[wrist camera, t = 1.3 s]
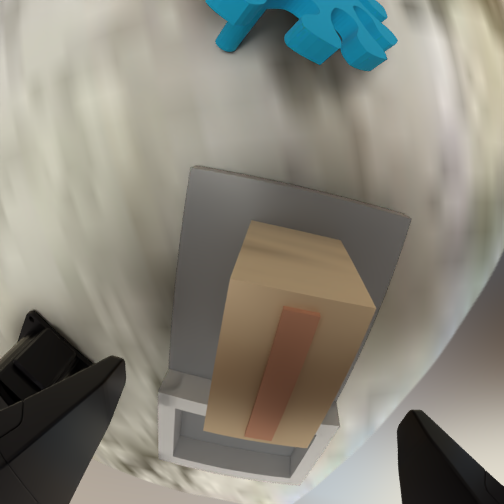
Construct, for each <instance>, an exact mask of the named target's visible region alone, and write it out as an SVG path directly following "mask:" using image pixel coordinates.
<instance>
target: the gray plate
mask: <svg viewBox="0 0 504 504" xmlns="http://www.w3.org/2000/svg"><path fill="white" fill-rule="evenodd" d="M251 220H253V221H257V222H262V223H267V224H271V225H276V226H280V227H285V228H289V229H294V230H298V231H303V232H307V233H311V234H316V235H320V236H325V237H329V238H333V239H337V240H341V242H342V244H343V245H344V247H345V249H346V251H347V253H348V255H349V256H350V258H351V260H352V262H353V264H354V266H355V268H356V270H357V271H358V273H359V275H360V277H361V279H362V281H363V283H364V285H365V287H366V289H367V291H368V293H369V295H370V297H371V299H372V301H373V303H374V305H375V307H376V310H375V313H374V315H373V318H372V320H371V322H370V325H369V327H368V329H367V332H366V334H365V336H364V339H363V341H362V343H361V345H360V348H359V350H358V352H357V354H356V356H355V359H354V361H353V363H352V365H351V367H350V369H349V371H348V373H347V375H346V377H345V379H344V381H343V383H342V385H341V387H340V389H339V391H338V393H337V395H336V397H335V399H334V401H333V403H332V405H331V407H330V409H329V410H328V412H327V414H326V416H325V418H324V420H323V421H322V423H321V425H320V427H319V429H318V430H317V432H316V434H315V436H314V437H313V439H312V441H311V442H310V444H309V446H308V447H307V448H299V447H291V446H283V445H276V444H269V443H262V442H256V441H250V440H245V439H239V438H234V437H229V436H224V435H220V434H215V433H211V432H206V431H203V428H204V422H205V416H206V411H207V405H208V399H209V393H210V387H211V381H212V376H213V370H214V364H215V359H216V353H217V347H218V342H219V336H220V331H221V325H222V320H223V314H224V309H225V303H226V298H227V292H228V287H229V282H230V277H231V275H232V272H233V269H234V266H235V264H236V261H237V258H238V255H239V253H240V250H241V247H242V244H243V242H244V239H245V236H246V234H247V231H248V228H249V225H250V223H251ZM410 222H411V218H409V217H408V216H406V215H405V214H403V213H399V212H396V211H393V210H389V209H386V208H382V207H378V206H375V205H371V204H368V203H364V202H360V201H356V200H353V199H349V198H345V197H341V196H337V195H333V194H329V193H325V192H321V191H317V190H313V189H308V188H304V187H300V186H296V185H291V184H287V183H282V182H278V181H273V180H269V179H264V178H259V177H254V176H249V175H244V174H239V173H234V172H229V171H224V170H218V169H213V168H207V167H202V166H194V167H191V168H190V174H189V181H188V187H187V194H186V200H185V207H184V215H183V222H182V230H181V237H180V245H179V254H178V263H177V272H176V281H175V291H174V302H173V313H172V325H171V338H170V353H169V369H168V371H167V373H166V375H165V378H164V380H163V382H162V384H161V386H160V388H159V391H158V450H159V459H160V460H164V461H167V462H171V463H174V464H178V465H182V466H186V467H190V468H194V469H198V470H202V471H207V472H211V473H216V474H221V475H226V476H231V477H237V478H242V479H249V480H255V481H262V482H270V483H278V484H288V485H299V486H300V485H301V483H302V482H303V480H304V479H305V478H306V476H307V475H308V474H309V472H310V471H311V469H312V468H313V466H314V465H315V464H316V462H317V461H318V459H319V458H320V456H321V455H322V453H323V452H324V450H325V449H326V447H327V446H328V444H329V443H330V441H331V440H332V438H333V436H334V435H335V433H336V432H337V430H338V428H339V427H340V423H339V416H338V410H337V403H336V401H337V399H338V397H339V395H340V393H341V391H342V390H343V388H344V386H345V384H346V382H347V380H348V378H349V376H350V374H351V372H352V370H353V367H354V365H355V363H356V361H357V359H358V357H359V355H360V353H361V351H362V348H363V346H364V344H365V342H366V340H367V337H368V335H369V333H370V330H371V328H372V326H373V323H374V321H375V319H376V316H377V314H378V312H379V309H380V307H381V304H382V302H383V299H384V297H385V294H386V291H387V289H388V286H389V284H390V281H391V278H392V276H393V273H394V270H395V267H396V265H397V262H398V259H399V256H400V253H401V250H402V247H403V244H404V241H405V238H406V235H407V232H408V229H409V225H410Z"/></svg>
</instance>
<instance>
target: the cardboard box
mask: <svg viewBox="0 0 504 504" xmlns="http://www.w3.org/2000/svg"><path fill="white" fill-rule="evenodd" d="M375 310H376V307H375V305H374V303H373V301H372V299H371V297H370V295H369V293H368V291H367V289H366V287H365V285H364V283H363V281H362V279H361V277H360V275H359V273H358V271H357V270H356V268H355V266H354V264H353V262H352V260H351V258H350V256H349V255H348V253H347V251H346V249H345V247H344V245H343V244H342V242H341V240H337V239H333V238H329V237H325V236H320V235H316V234H311V233H307V232H303V231H298V230H294V229H289V228H285V227H280V226H276V225H271V224H267V223H262V222H257V221H253V220H251V223H250V225H249V228H248V231H247V234H246V236H245V239H244V242H243V244H242V247H241V250H240V253H239V255H238V258H237V261H236V264H235V266H234V269H233V272H232V275H231V277H230V282H229V287H228V292H227V298H226V303H225V309H224V314H223V320H222V325H221V331H220V336H219V342H218V347H217V353H216V359H215V364H214V370H213V376H212V381H211V387H210V393H209V399H208V405H207V411H206V416H205V422H204V428H203V431H206V432H211V433H215V434H220V435H224V436H229V437H234V438H239V439H245V440H250V441H256V442H262V443H269V444H276V445H283V446H291V447H299V448H307V447H308V446H309V444H310V442H311V441H312V439H313V437H314V436H315V434H316V432H317V430H318V429H319V427H320V425H321V423H322V421H323V420H324V418H325V416H326V414H327V412H328V410H329V409H330V407H331V405H332V403H333V401H334V399H335V397H336V395H337V393H338V391H339V389H340V387H341V385H342V383H343V381H344V379H345V377H346V375H347V373H348V371H349V369H350V367H351V365H352V363H353V361H354V359H355V356H356V354H357V352H358V350H359V348H360V345H361V343H362V341H363V339H364V336H365V334H366V332H367V329H368V327H369V325H370V322H371V320H372V318H373V315H374V313H375Z"/></svg>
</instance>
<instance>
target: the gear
mask: <svg viewBox="0 0 504 504" xmlns="http://www.w3.org/2000/svg"><path fill="white" fill-rule="evenodd" d="M205 2H206V3H207V4H208V5H209V7H210V8H211V9H213V10H214V11H215V12H216V13H217V14H218V15H220V16H221V17H222V18H224V19H225V20H227V21H228V22H227V23H226V25H225V26H224V28H223V29H222V31H221V32H220V34H219V35H218V37H217V39H216V41H215V42H216V44H217V46H218V47H219V48H220V49H222V50H224V51H228V52H232V51H235V50H236V48H237V47H238V46H239V44H240V43H241V42H242V40H243V39H244V38H245V36H246V35H247V34H248V32H249V31H250V30H251V28H252V27H253V26H254V25H255V23H256V22H257V21H258V19H259V18H260V17H261V16H262V14H263V13H264V12H265V11H266V9H284V10H287V11H289V12H291V13H292V14H294V15H295V16H296V17H297V18H299V20H298V21H297V22H296V23H295V24H294V25H293V27H292V28H291V29H290V30H289V31H288V32H287V33H286V34H285V37H284V40H285V43H286V45H287V46H288V47H290V48H291V49H292V50H293V51H295V52H297V53H298V54H300V55H301V56H303V57H305V58H307V59H309V60H311V61H313V62H315V63H317V64H319V65H321V64H322V63H323V62H324V61H325V60H327V59H328V58H329V57H330V56H331V55H332V54H334V53H335V52H336V51H337V50H338V49H339V48H340V49H341V53H342V55H343V57H344V59H345V60H346V61H347V63H348V64H349V65H350V66H352V67H354V68H357V69H359V70H364V71H371V70H373V69H374V68H375V67H377V66H378V65H380V64H381V63H382V62H384V61H385V60H387V57H386V54H385V51H386V50H388V49H389V48H391V47H392V46H393V45H395V44H396V43H397V41H398V40H397V38H396V37H395V36H394V34H393V33H392V32H391V31H390V30H389V29H388V28H387V27H386V26H384V25H383V24H382V23H381V22H383V21H384V20H385V19H386V18H387V14H386V11H385V9H384V8H383V6H382V5H380V4H379V3H378V2H377V1H376V0H206V1H205ZM335 30H336V31H337V32H338V33H339V34H340V36H341V38H342V44H341V40H340V37H339V36H338V34H337V32H336V31H335Z"/></svg>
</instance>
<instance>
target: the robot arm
mask: <svg viewBox="0 0 504 504" xmlns="http://www.w3.org/2000/svg"><path fill="white" fill-rule="evenodd" d="M125 382H126V371H125V361H124V359H122V358H119V357H116V356H109V357H107V358H105V359H103V360H101V361H99V362H97V363H95V364H94V365H93V364H92V363H91V362H90V361H89V360H87V359H86V358H85V357H84V356H83V355H81V354H80V353H79V352H78V351H77V350H76V349H75V348H73V347H72V346H71V345H70V344H69V343H68V342H67V341H65V340H64V339H63V338H62V337H61V336H60V335H59V334H58V333H57V332H56V331H55V330H54V329H52V328H51V327H50V326H49V325H48V324H47V323H46V322H45V321H44V320H43V319H42V318H41V317H40V316H39V315H38V314H37V313H36V312H35V311H30V312H29V313H28V314H27V315H26V318H25V321H24V324H23V327H22V330H21V333H20V336H19V339H18V342H17V344H16V345H14V346H13V347H12V348H11V349H10V350H9V351H8V352H7V353H6V354H5V355H4V356H3V357H2V358H1V359H0V504H69V503H70V501H71V499H72V497H73V495H74V493H75V491H76V488H77V487H78V485H79V483H80V480H81V479H82V477H83V475H84V473H85V471H86V469H87V467H88V465H89V463H90V461H91V459H92V457H93V455H94V453H95V451H96V449H97V447H98V446H99V444H100V442H101V440H102V438H103V436H104V434H105V432H106V430H107V428H108V426H109V424H110V422H111V419H112V417H113V414H114V411H115V409H116V406H117V404H118V401H119V398H120V396H121V393H122V391H123V388H124V386H125ZM397 443H398V470H399V479H400V487H401V497H402V504H504V486H503V485H501V484H500V483H499V482H498V481H497V480H496V479H495V478H493V477H492V476H491V475H490V474H489V473H488V472H487V471H485V469H484V468H483V467H482V466H481V465H480V464H478V463H477V462H476V461H475V460H474V459H473V458H472V457H471V456H470V455H469V454H468V453H467V452H466V451H465V450H463V449H462V448H461V447H460V446H459V445H458V444H457V443H456V442H455V441H454V440H453V439H452V438H451V437H450V436H448V434H446V433H445V432H444V431H443V430H442V429H441V428H440V427H439V426H438V425H437V424H436V423H435V422H434V421H433V420H431V418H429V417H428V416H427V415H426V414H425V413H424V412H423V411H422V410H410V411H409V412H408V413H407V414H406V416H405V417H404V419H403V420H402V421H401V423H400V424H399V426H398V429H397Z"/></svg>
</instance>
